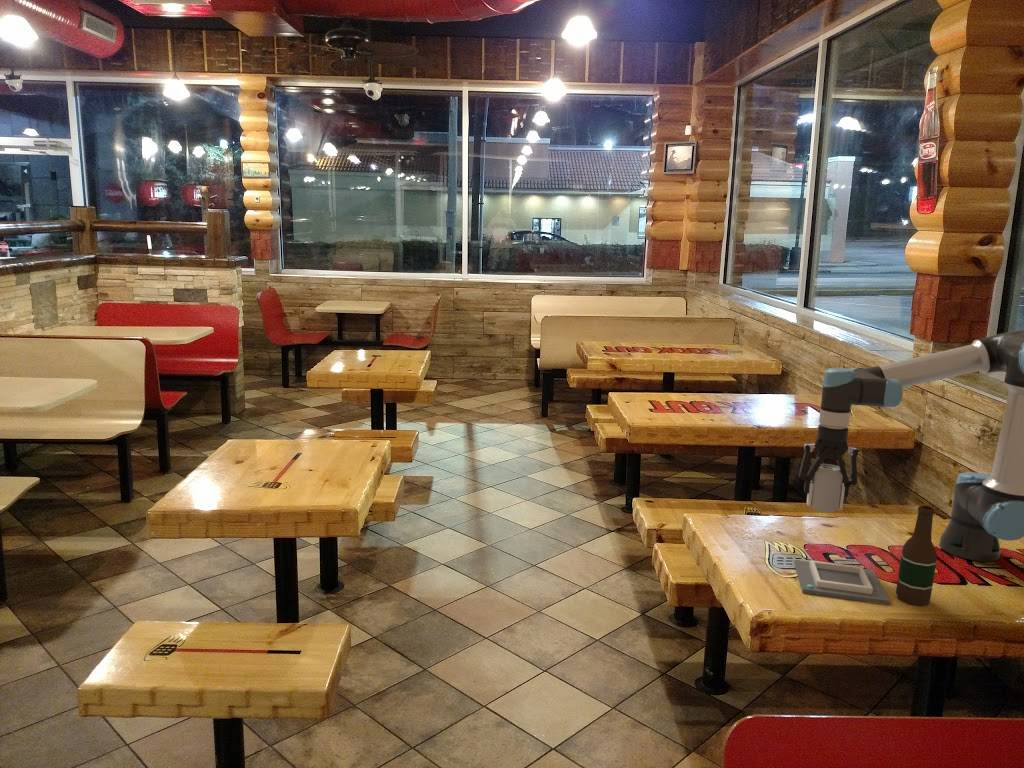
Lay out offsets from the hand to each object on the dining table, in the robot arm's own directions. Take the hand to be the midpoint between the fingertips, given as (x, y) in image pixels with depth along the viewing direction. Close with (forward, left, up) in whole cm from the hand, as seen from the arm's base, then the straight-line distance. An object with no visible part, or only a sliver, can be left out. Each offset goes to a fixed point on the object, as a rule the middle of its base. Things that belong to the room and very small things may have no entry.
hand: (824, 506), depth 213 cm
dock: (-3, +17, -14) cm, 23 cm away
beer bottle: (-19, +21, -15) cm, 32 cm away
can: (0, 0, -1) cm, 1 cm away
